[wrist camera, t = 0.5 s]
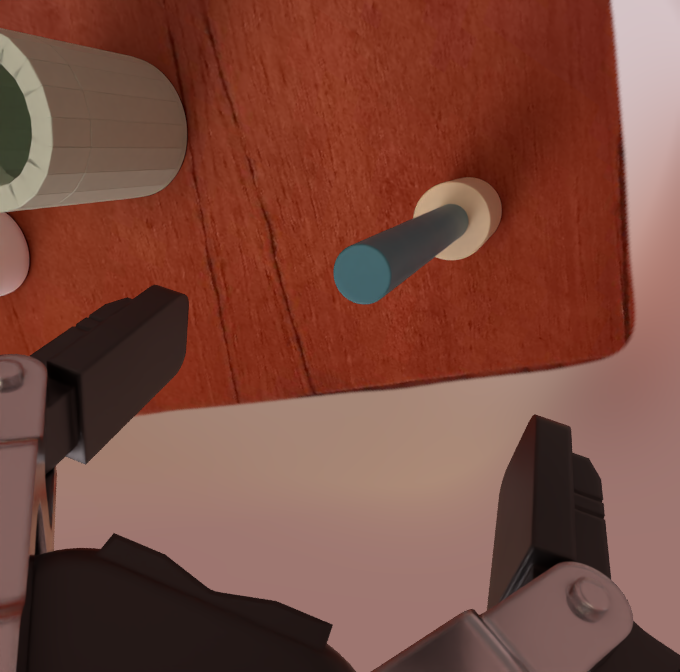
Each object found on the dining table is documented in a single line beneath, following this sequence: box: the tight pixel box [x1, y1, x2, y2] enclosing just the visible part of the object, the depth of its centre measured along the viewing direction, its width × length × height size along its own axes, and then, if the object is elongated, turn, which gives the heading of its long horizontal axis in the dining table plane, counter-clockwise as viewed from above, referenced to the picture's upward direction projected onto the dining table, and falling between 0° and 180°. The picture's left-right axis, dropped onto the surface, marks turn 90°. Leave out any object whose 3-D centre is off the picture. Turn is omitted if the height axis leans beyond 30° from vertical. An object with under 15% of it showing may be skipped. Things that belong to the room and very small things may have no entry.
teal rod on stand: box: [334, 177, 502, 304], centre depth 29 cm, size 4×4×22 cm
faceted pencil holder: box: [0, 28, 187, 212], centre depth 40 cm, size 10×10×13 cm
